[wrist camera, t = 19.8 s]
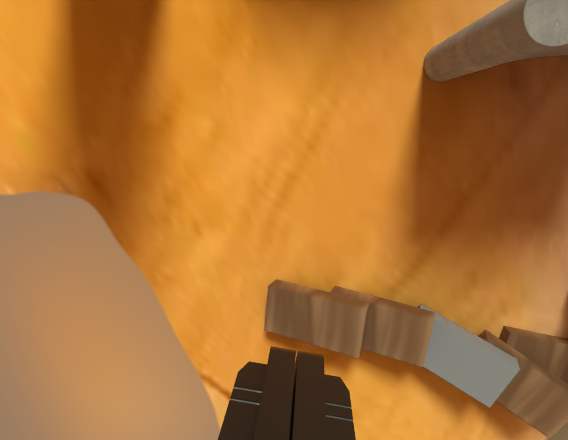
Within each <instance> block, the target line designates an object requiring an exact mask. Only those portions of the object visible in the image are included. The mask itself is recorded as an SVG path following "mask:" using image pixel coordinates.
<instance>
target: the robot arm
mask: <svg viewBox="0 0 568 440" xmlns="http://www.w3.org/2000/svg"><path fill="white" fill-rule="evenodd" d="M295 356H296V351H295V350H289V349H283V348H278V347H272V346H271V348H270V353H269V359H268V364H267V365H266V364H260V363H255V362H248V363H247V364H246V365H245V366H244V367H243V368H242V369H241V370H240V371H239V372H238V374H237V378H236V381H235V384H234V389H233V391H232V394H231V398H230V401H229V404H228V408H227V411H226V414H225V418H224V421H223V424H222V428H221V431H220V434H219V438H218V440H356V439H355V431H354V423H353V416H352V409H351V401H350V393H349V390H348V388H347V387H346V385H345V384H344V382H343V381H342V379H341V378H340V377H336V376H331V375H325V374H324V357H323V355H319V354H313V353H307V352H302V351H298V352H297V357H296V362H295Z"/></svg>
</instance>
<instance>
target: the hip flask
mask: <svg viewBox="0 0 568 440" xmlns="http://www.w3.org/2000/svg"><path fill="white" fill-rule="evenodd" d="M564 55H568V0H510V1H508V2H507V3H505V4H503V5H502V6H500V7H498V8H497V9H495V10H493V11H492V12H490V13H489V14H487V15H485V16H484V17H482V18H480V19H479V20H477V21H476V22H474V23H472V24H471V25H469V26H467V27H466V28H464V29H462V30H461V31H459V32H458V33H456V34H454V35H453V36H451V37H449V38H448V39H446V40H445V41H443V42H441V43H440V44H438V45H436V46H435V47H433V48H432V49H431V50H430V51H429V52H428V53H427V55H426V57H425V59H424V71H425V73H426V75H427V76H428V77H429V78H430V79H432V80H433V81H436V82H444V81H447V80H450V79H453V78H457V77H460V76H463V75H467V74H470V73H473V72H477V71H480V70H483V69H487V68H490V67H493V66H496V65H500V64H503V63H507V62H513V61H519V60H525V59H531V58H538V57H549V56H564Z"/></svg>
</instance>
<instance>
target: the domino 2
mask: <svg viewBox="0 0 568 440" xmlns="http://www.w3.org/2000/svg"><path fill="white" fill-rule="evenodd" d="M331 293H333V294H337V295H341V296H345V297H349V298H353V299H357V300H361V301H365V302H369V303H370V307H369V313H368V320H367V326H366V332H365V339H364V345H363V349H364V350H367V351H371V352H374V353H377V354H380V355H384V356H387V357H390V358H394V359H397V360H400V361H403V362H407V363H410V364H413V365H416V366H420V367H423V366H424V361H425V357H426V353H427V349H428V345H429V341H430V337H431V333H432V329H433V325H434V312H432V311H429V310H425V309H421V308H417V307H413V306H409V305H406V304H402V303H398V302H394V301H390V300H386V299H383V298H379V297H375V296H371V295H367V294H363V293H360V292H356V291H352V290H348V289H344V288H340V287H337V286H335V287H334V288H333V290H332V291H331Z"/></svg>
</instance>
